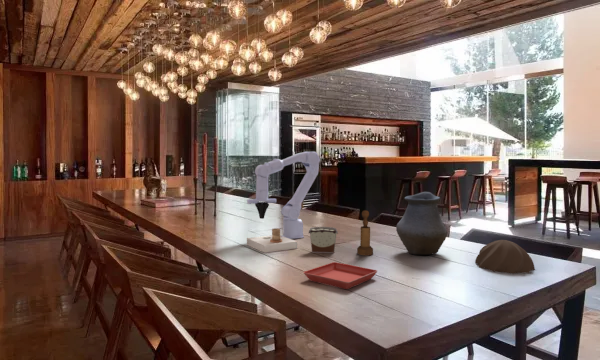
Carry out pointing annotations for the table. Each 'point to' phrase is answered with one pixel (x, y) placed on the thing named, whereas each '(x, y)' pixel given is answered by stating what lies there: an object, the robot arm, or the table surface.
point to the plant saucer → (340, 275)
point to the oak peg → (276, 236)
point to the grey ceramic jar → (422, 225)
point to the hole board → (271, 244)
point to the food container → (323, 239)
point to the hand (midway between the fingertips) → (261, 218)
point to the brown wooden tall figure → (365, 237)
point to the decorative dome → (504, 258)
